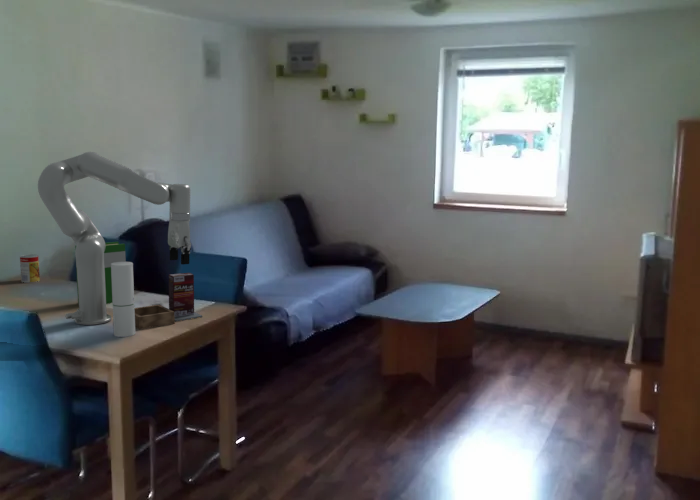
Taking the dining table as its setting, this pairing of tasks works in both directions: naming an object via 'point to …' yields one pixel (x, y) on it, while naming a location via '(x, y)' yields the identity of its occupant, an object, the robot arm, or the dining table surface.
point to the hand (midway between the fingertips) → (179, 262)
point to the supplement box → (181, 294)
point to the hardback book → (111, 255)
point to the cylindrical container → (123, 299)
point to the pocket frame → (153, 316)
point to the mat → (187, 317)
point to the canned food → (29, 268)
